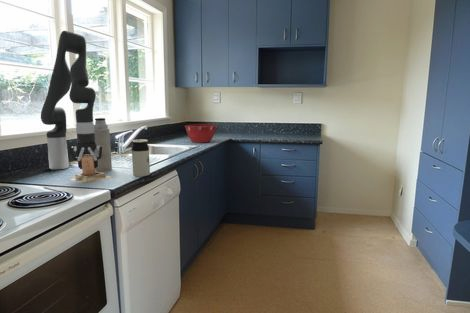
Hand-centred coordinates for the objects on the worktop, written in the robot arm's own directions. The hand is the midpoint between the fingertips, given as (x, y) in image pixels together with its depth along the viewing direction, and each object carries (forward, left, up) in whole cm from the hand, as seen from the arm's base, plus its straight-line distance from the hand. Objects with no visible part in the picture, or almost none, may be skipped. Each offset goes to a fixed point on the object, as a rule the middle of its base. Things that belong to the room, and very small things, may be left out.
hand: (88, 168), depth 149 cm
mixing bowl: (-42, +139, -6) cm, 145 cm away
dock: (0, +1, -6) cm, 6 cm away
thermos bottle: (-11, +16, -6) cm, 20 cm away
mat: (+1, -12, -6) cm, 14 cm away
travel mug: (+14, +19, -6) cm, 24 cm away
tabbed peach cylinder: (+2, -1, -3) cm, 4 cm away
